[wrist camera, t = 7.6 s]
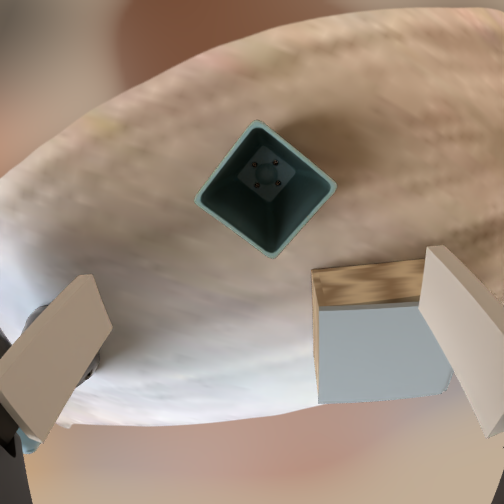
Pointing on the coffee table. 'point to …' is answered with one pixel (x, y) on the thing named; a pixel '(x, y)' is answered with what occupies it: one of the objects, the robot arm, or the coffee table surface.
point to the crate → (364, 288)
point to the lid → (378, 354)
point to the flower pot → (265, 190)
